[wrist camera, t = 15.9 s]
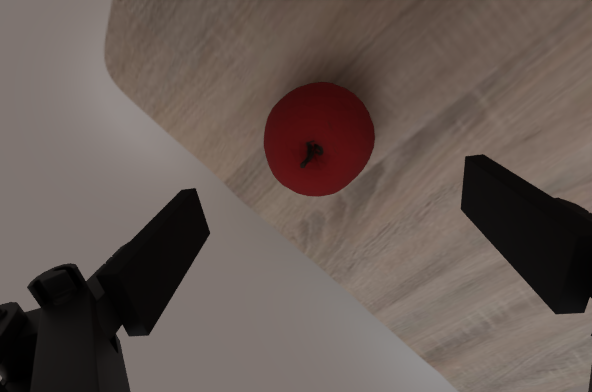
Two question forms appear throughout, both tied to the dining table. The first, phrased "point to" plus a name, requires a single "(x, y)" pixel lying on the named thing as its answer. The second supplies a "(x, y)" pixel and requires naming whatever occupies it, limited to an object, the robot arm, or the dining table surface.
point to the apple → (318, 139)
